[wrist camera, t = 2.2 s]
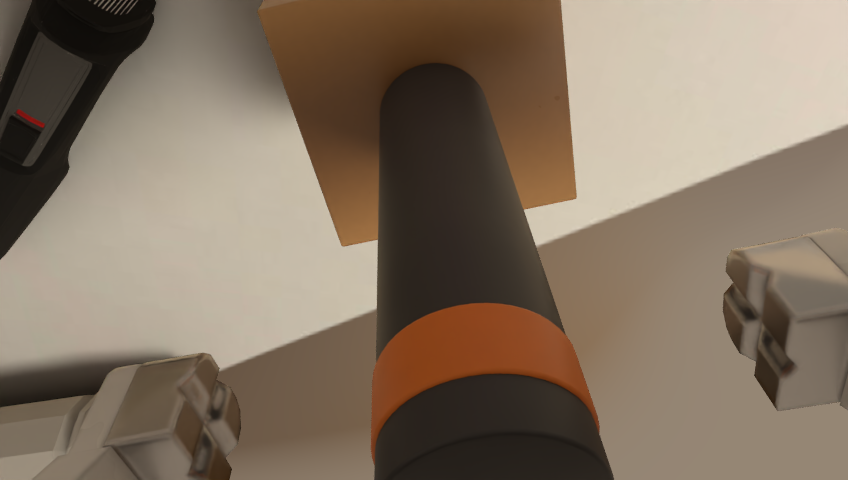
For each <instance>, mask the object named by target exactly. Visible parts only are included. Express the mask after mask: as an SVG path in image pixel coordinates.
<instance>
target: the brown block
mask: <svg viewBox="0 0 848 480" xmlns="http://www.w3.org/2000/svg"><path fill="white" fill-rule="evenodd" d="M257 13H258V16H259V18H260V21H261V24H262V27H263V30H264V32H265V35H266V38H267V41H268V43H269V46H270V49H271V52H272V54H273V57H274V60H275V63H276V66H277V68H278V71H279V74H280V77H281V79H282V82H283V85H284V88H285V90H286V93H287V96H288V99H289V102H290V104H291V107H292V110H293V113H294V115H295V118H296V121H297V124H298V126H299V129H300V132H301V135H302V137H303V140H304V143H305V146H306V149H307V151H308V154H309V157H310V160H311V162H312V165H313V168H314V171H315V173H316V176H317V179H318V182H319V185H320V187H321V190H322V193H323V196H324V198H325V201H326V204H327V207H328V209H329V212H330V215H331V218H332V220H333V223H334V226H335V229H336V232H337V234H338V237H339V240H340V243H341V245H342V246H349V245H353V244H358V243H363V242H368V241H373V240H378V201H379V131H380V107H381V103H382V100H383V97H384V94H385V93H386V91H387V89H388V88H389V86H390V85H391V83H392V82H393V81H394V80H395V79H396V78H397V77H399V76H400V75H401V74H402V73H404V72H406V71H407V70H409V69H411V68H414V67H416V66H419V65H423V64H429V63H441V64H448V65H452V66H455V67H457V68H460V69H461V70H463V71H465V72H466V73H468V74H469V75H471V76H472V77H473V78H474V79H475V80H476V81H477V83H478V84H479V85H480V87H481V89H482V90H483V92H484V95H485V97H486V100H487V103H488V106H489V109H490V112H491V115H492V118H493V121H494V124H495V127H496V130H497V133H498V136H499V139H500V142H501V145H502V148H503V151H504V153H505V156H506V159H507V162H508V165H509V168H510V171H511V174H512V177H513V180H514V183H515V186H516V189H517V192H518V195H519V198H520V201H521V204H522V207H523V210H524V209H529V208H534V207H538V206H543V205H548V204H553V203H558V202H563V201H568V200H573V199H576V197H577V196H576V183H575V171H574V159H573V146H572V134H571V122H570V109H569V97H568V85H567V72H566V60H565V48H564V35H563V23H562V11H561V0H264V1H263V2H262V4H261V6H260V7H259V9H258V11H257Z"/></svg>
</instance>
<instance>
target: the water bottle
mask: <svg viewBox="0 0 848 480" xmlns="http://www.w3.org/2000/svg"><path fill="white" fill-rule="evenodd" d="M97 394H98V392H97ZM97 394H96V395H83V396H76V397H69V398H62V399H55V400H48V401H41V402H34V403H27V404H20V405H13V406H6V407H0V480H32V479H33V478H34V477H35V476H36V475H37V474H38V473H39V472H41V471H42V470H43V469H44V468H45V467H46V466H47V465H48V464H50V463H51V462H52V461H53V460H54V459H55V458H56V457H57V456H60V455H66V454H68V452H69V450H70V448H71V446H72V444H73V442H74V440H75V438H76V436H77V434H78V432H79V430H80V428H81V426H82V424H83V422H84V420H85V418H86V416H87V414H88V412H89V410H90V408H91V406H92V404H93V402H94V400H95V398H96V396H97Z"/></svg>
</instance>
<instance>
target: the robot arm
mask: <svg viewBox="0 0 848 480" xmlns="http://www.w3.org/2000/svg"><path fill="white" fill-rule="evenodd" d="M726 272H727V274H728V275H729V277H730V278H731V279H732V281H733V282H734V283H733V284H732V285H731V286H730V287H729V288H728V290H727V291H726V292H725V293H724V301H723V313H724V317H725V322H726V327H727V330H728V332H729V334H730V337H731V339H732V341H733V343H734V345H735V346H736V348H737V349H738V351H739V353H740V354H742V355H744V356H746V357H748V358H750V359H752V360H754V361H756V367H755V375H754V376H755V377H756V379H757V381H758V382H759V383H760V385H761V387H762V388H763V390H764V391H765V393H766V394H767V396H768V397H769V399H770V400H771V402H772V403H773V405H774V406H775V408H776V409H777V411H782V410H789V409H795V408H803V407H809V406H816V405H822V404H830V403H837V402H840V405H841V406H842V407H844V408H845V409H847V410H848V232H847V231H845V230H842V229H839V228H833V229H828V230H824V231H819V232H815V233H810V234H805V235H801V236H800V237H793V238H788V239H783V240H778V241H774V242H768V243H764V244H758V245H753V246H748V247H744V248H738V249H733V250H731V251H730V253H729V255H728V257H727V264H726ZM218 372H219V367H218V365H217V364H216V362H215V361H214V359H213V358H212V356H211V355H210V354H206V353H198V354H192V355H186V356H180V357H174V358H168V359H162V360H156V361H150V362H145V363H144V364H137V365H131V366H125V367H119V368H115V369H114V370H112V371H111V372H110V373H108V374H107V376H106V378H105V380H104V382H103V384H102V386H101V388H100V390H99V392H98V394H97V396H96V398H95V400H94V402H93V404H92V406H91V408H90V410H89V412H88V414H87V416H86V418H85V420H84V422H83V424H82V426H81V428H80V430H79V432H78V434H77V436H76V438H75V440H74V442H73V444H72V446H71V448H70V450H69V452H68V454H66V455H60V456H57V457H56V458H55V459H54V460H53V461H52V462H51V463H50V464H48V465H47V466H46V467H45V468H44V469H43V470H42V471H41V472H39V473H38V474H37V475H36V476H35V477H34V478H33V479H32V480H229V479H230V475H231V470H232V469H231V467H230V465H229V463H228V462H227V460H226V457H227V456H228V455H229V453H230V452H231V451H232V450H233V449H234V448H235V447H236V446H237V444H238V440H239V435H240V430H241V421H240V409H239V405H238V402H237V399H236V397H235V395H234V393H233V391H232V389H231V387H229V386H227V385H225V384H223V383H222V382H219V381H218V380H216V379H217V375H218Z"/></svg>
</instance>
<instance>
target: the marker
mask: <svg viewBox="0 0 848 480" xmlns="http://www.w3.org/2000/svg"><path fill="white" fill-rule="evenodd" d="M371 421H372V422H371V452H372V459H373V462H374V465H375V479H374V480H614V478H613V474H612V471H611V468H610V465H609V462H608V459H607V456H606V453H605V450H604V447H603V444H602V441H601V438H600V435H599V421H598V416H597V413H596V410H595V407H594V405H593V402H592V399H591V396H590V393H589V390H588V387H587V384H586V381H585V378H584V376H583V373H582V370H581V367H580V364H579V361H578V358H577V355H576V353H575V350H574V348H573V345H572V344H571V342H570V340H569V339H568V338H567V336H566V334H565V331H564V328H563V325H562V322H561V319H560V316H559V314H558V311H557V308H556V305H555V302H554V299H553V296H552V293H551V290H550V287H549V284H548V281H547V278H546V275H545V272H544V269H543V266H542V263H541V260H540V257H539V254H538V251H537V248H536V245H535V242H534V239H533V236H532V233H531V231H530V228H529V225H528V222H527V219H526V216H525V213H524V210H523V207H522V204H521V201H520V198H519V195H518V192H517V189H516V186H515V183H514V180H513V177H512V174H511V171H510V168H509V165H508V162H507V159H506V156H505V153H504V151H503V148H502V145H501V142H500V139H499V136H498V133H497V130H496V127H495V124H494V121H493V118H492V115H491V112H490V109H489V106H488V103H487V100H486V97H485V95H484V92H483V90H482V89H481V87H480V85H479V84H478V83H477V81H476V80H475V79H474V78H473V77H472V76H471V75H469V74H468V73H466V72H465V71H463V70H461V69H460V68H457V67H455V66H452V65H448V64H441V63H429V64H423V65H419V66H416V67H414V68H411V69H409V70H407V71H406V72H404V73H402V74H401V75H400V76H399V77H397V78H396V79H395V80H394V81H393V82H392V83H391V85H390V86H389V88H388V89H387V91H386V93H385V94H384V97H383V100H382V103H381V107H380V131H379V201H378V270H377V340H376V365H375V369H374V372H373V380H372V420H371Z"/></svg>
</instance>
